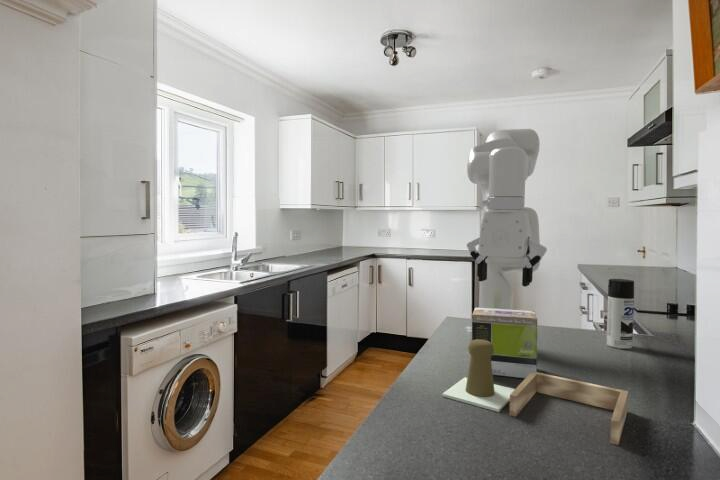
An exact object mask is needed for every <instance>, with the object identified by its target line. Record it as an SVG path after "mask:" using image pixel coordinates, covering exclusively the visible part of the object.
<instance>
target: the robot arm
mask: <svg viewBox="0 0 720 480" xmlns="http://www.w3.org/2000/svg"><path fill="white" fill-rule="evenodd" d="M539 152H540V138H539V135H538V133H537V132H536V131H535V129H532V128H513V129H511V128H510V129H499V130H495V131H493V132H491V133H490V134H489V135H488V136H487V138H486V140H485V143H481V144H478V145H476V146H474V147H472V148H471V150H470V151H469V154H468V157H467V164H466V173H467V177H468V179H469V181H470V182H471V183H472V184H475V185H478V187H479V189H480V191H481V195H482V202H481V204H482V205H481V206H482V220H481V225H480V231H479V237H478V238H476V239H473V240H471V241H469V242H468V243H467V244H466V247H467V249H468V251H469V252H470V253H469V255H470V256H471V258H472V259H473V260H474V262H475V263H476V264H477V265H476V266H477V268H476V270H477V271H476V275H477V277H478V282H479V283H478V284H479V289H478V290H479V293H478V294H479V296H478V308H495V309H511V310H513V304H514V303H513V300H514V299H513V298H514V295H513V294H514V287H513V284H512V282H511V281H510V279H509V278H507V276H506V275H505V274H504V273H522V278H521V279H522V281H521V285H522V286H523V287H525V288H526V287H528V286H530V284H532V282H533V275H534V274H533V273H534V272H536V271H538V269H539V268H540V265H541V261H542V259H543V257H544V256H545V254H546V253H547V251H548V248H547V247H546V246H544V245H542V244H541V242H540V241H541V239H540V222H539V215H538V213H537V211H536V210H535V209H534V208H532V207H527V206H525V204H526V203H525V200H526V199H525V195H526V194H525V193H526V181H527V180H528V178H529V177H530V176H532V175H533V173H534V170H535V169H536V168H535V167H536V163H537V159H538V158H539V157H538V156H539ZM476 246H478V247H477V248H476ZM465 333H466V335H472V326H466V327H465Z"/></svg>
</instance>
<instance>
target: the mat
mask: <svg viewBox="0 0 720 480" xmlns="http://www.w3.org/2000/svg"><path fill="white" fill-rule="evenodd" d="M467 377H468V376H467ZM467 377H466V376H464V377H463V378H461V379H460V380H459V381H457V382H456V383H455V384H453V385H452V386H451V387H450V388H449V387H448V389H447V390H445V391H444V392H442V394H441V396H442V397H443V398H447V399H450V400H453V401H457V402H460V403H461V402H462V403H464V404H469V405H472V406H474V407H475V406H476V407H479V408H483V409H487V410H490V411H493V412H496V413H497V412H498V413H500V412H501V411H502V409H503V408H505V406H506V405H507V404H508V403H510V394H511V393H512V392H513V391H514V390H515V389H516V388H512V387H507V386H502V385H499V384H495V383H494V392H495V394H494V395H493V396H491V397H477V396H473V395H471V394H468V393H467V392H466V384H467Z"/></svg>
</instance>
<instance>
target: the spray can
mask: <svg viewBox="0 0 720 480" xmlns="http://www.w3.org/2000/svg"><path fill="white" fill-rule="evenodd" d="M634 309H635V281H634V280H633V279H632V280H631V279H627V278H625V279H624V278H609V279H608V286H607V312H606V313H607V314H606V315H607V318H606V319H607V320H606V345H607V346H608V347H610V348H614V349H618V350H632V349H633V342H634V341H633V338H634V337H633V336H634V316H635V315H634V312H635V311H634Z"/></svg>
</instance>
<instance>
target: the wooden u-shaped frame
mask: <svg viewBox="0 0 720 480" xmlns="http://www.w3.org/2000/svg"><path fill="white" fill-rule="evenodd" d="M514 389H515V390H514V391H513V392H512V393H511V394H510V401H509V416H512V417H515V418H516V417H517V416H518V415H519V414H520V413H521V412H522V410H523V408H524V407H525V406H526V405H527V404H528V402H529V401H530V400H531V399H532V397H533V396H534V395H535V394H536V393H539V394H544V395H547V396H551V397H556V398H560V399H564V400H569V401H573V402H576V403H580V404H584V405H585V404H586V405H588V406H589V405H590V406H593V407H598V408H601V409H602V408H603V409H606V410H610V411H613V413H612V416H611V420H610V438H609V439H610V440H609V441H610V442H609V443H610V444H612V445H616V446H619V445H620V440H621V437H622V433H623V429H624V427H625V421H626V418H627V413H628V405H629V404H628V403H629V391H628V390H624V389H619V388H618V389H617V388H614V387H610V386H604V385H599V384H594V383H590V382H586V381H580V380H576V379H571V378H567V377H561V376H556V375H552V374H547V373H543V372H540V371H539V372H538V371H537V372H534V371H532V372H531V373H530V374H529V375H528V376H527V377H526V378H523V380H522V381H521V383H519V384H518V386H517V387H516V388H514Z"/></svg>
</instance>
